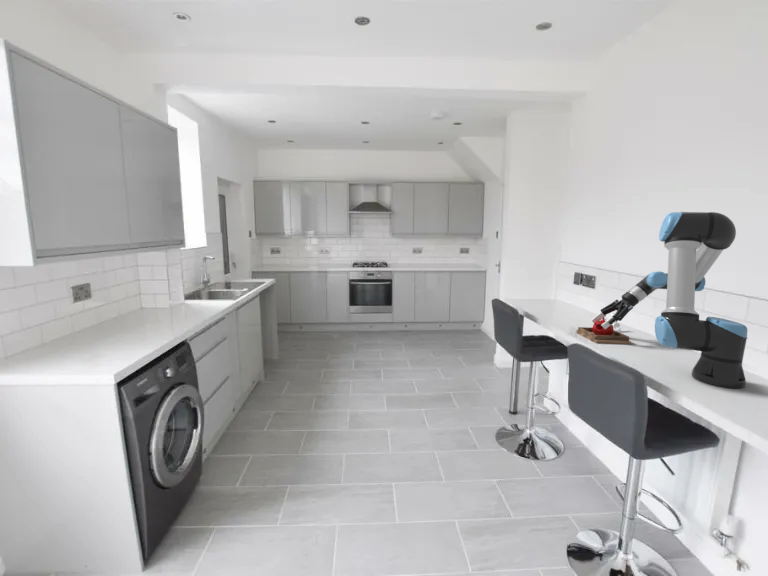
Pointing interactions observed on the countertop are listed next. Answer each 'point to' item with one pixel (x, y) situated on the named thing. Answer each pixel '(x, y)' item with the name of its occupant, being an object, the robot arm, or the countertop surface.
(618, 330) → the hook
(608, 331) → the pomegranate
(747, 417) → the countertop surface
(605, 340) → the tray
